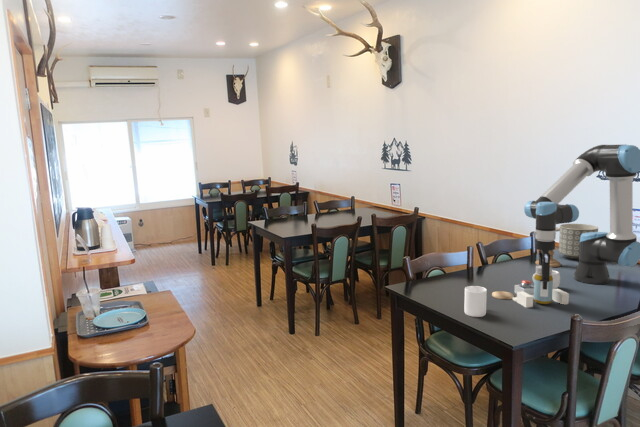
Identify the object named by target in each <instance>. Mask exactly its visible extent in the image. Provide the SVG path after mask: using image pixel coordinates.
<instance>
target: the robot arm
mask: <svg viewBox="0 0 640 427" xmlns="http://www.w3.org/2000/svg"><path fill="white" fill-rule="evenodd" d="M600 171H602V172H605V178H606V179H608V180H609V232H606V231H598V232H588V233H583V234H582V235H581V237H580V247H579V260H578V264H577V266H576V268H575V271H574V273H573V279H574V280H576V281H578V282H581V283H586V284H594V285H602V284H603V285H604V284H609V283H610V281H611V276H610V273H609V269H608V266H607V263H609V264H614V265H617V266H620V267H627V268H628V267H633V266H635V265H637V263H639V261H640V241H638V240H637V237H638V236H637V235H636V233H634V230H633V225H634V224H633V221H634V219H633V216H634V215H633V207H634V206H633V196H634V195H633V194H634V193H633V189H634V188H633V180H634V178H635V177H637V176H638V175H637V174H638V173H639V172H640V148H639V147H638V146H637V145H633V144H626V143H625V144H600V145H598V144H597V145H596V146H593V147H591V148H589V149H587V150H585V151H584V152H583V153H581V154H580V155H579V156H578V157H576V158H575V160H574V161H572V165H571V166H570V167H569V169H567V170H566V171H565V173H563V174H562V175H561V176H560V177H559V178H558V179H557V180H556V181H555V182H554V183H553V184H552V185H551V186H550V187H549V188H548V189H547V190H546V191H544V192H543V193H542V194H541V196H539V197H538V198H537V199H536V200H529V201H527V202H526V203H525V205H524V208H523V211H524V214H525V215H526V216H527V217H528V218H530V219H533V220H534V219H535V231H533V234H534V235H535V240H534V241H535V242H534V249H535V250H538V260H539V265H541V266H542V279H541V280H540V281H541V297H548V282H549V281H550V279H549V272H550V254H549V251H550V250H553V251H554V250H555V249H556V241H555V240H556V234H557V232H556V227H557V225H562V224H571V223H572V222H573V223H574V222H575V221H577V220H578V219H579V216H580V211H579V208H578V207H577V206H576V205H574V204H568V203H566V204H560V203H561V202H562V201H563V200H564V199H565V198H566V197H567V196H568V195H570V193H571V192H572V191H573V190H574V189H575V188H576V187H577V186H578V185H579V184H580V183H582V181H583V180H584V179H586V177H590V176H592V175H593V174H594V173H596V172H600Z"/></svg>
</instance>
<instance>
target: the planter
mask: <svg viewBox="0 0 640 427" xmlns="http://www.w3.org/2000/svg"><path fill="white" fill-rule="evenodd" d="M559 228H560V231H559V235H558V236H559V238H558V239H559V240H558V253H559V254H561V255H563V256H565V257H566V258H569V259H571V260H575V261H579V247H580V237H581V235H582V234H583V233H588V232H599V227H598V226H596V225H593V224H587V223H562V224H559Z"/></svg>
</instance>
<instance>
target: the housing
mask: <svg viewBox="0 0 640 427" xmlns="http://www.w3.org/2000/svg"><path fill="white" fill-rule="evenodd" d="M513 294H516V296H514V297H513V298H512V301H514V302H516V303H517V304H519V305H521V306H522V307H524V308H528V309H529V308H534V285H533V284H531V288H528V289H524V288H522V287H521V284H514V292H513ZM569 298H570V293H568V292H567V291H564V290H562V289H560V288H557V289H553V291H552V301H554V302H556V303H558V304H559V303H560V305H561V304H564V305H569Z"/></svg>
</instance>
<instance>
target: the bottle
mask: <svg viewBox="0 0 640 427" xmlns="http://www.w3.org/2000/svg"><path fill="white" fill-rule="evenodd" d="M552 270H553V267H551V266H550V272H549V279H550V281H549V282H548V297H541V281H540V280H541V279H542V266H541V265H536V266H535V273H536V275H535V276H534V282H533V286H534V300H533V302H535V303H537V304H541V305H548V304H551V303H552V302H553V300H552V291H553V277H552Z"/></svg>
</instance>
